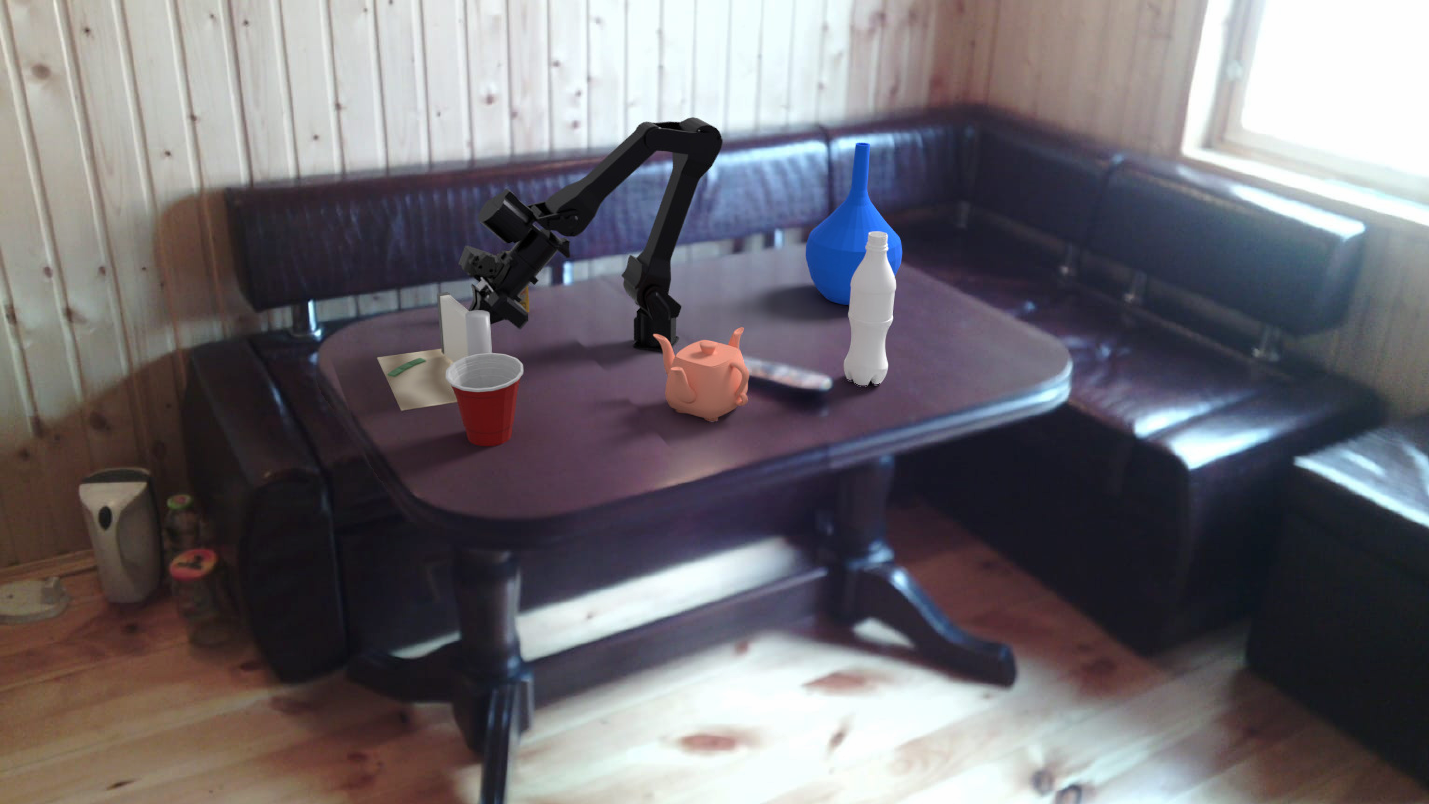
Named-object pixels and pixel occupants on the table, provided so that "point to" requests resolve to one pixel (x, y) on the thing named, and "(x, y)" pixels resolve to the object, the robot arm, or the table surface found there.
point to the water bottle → (870, 313)
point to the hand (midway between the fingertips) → (461, 333)
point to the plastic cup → (486, 395)
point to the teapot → (705, 377)
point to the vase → (848, 237)
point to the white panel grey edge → (462, 329)
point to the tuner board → (419, 378)
